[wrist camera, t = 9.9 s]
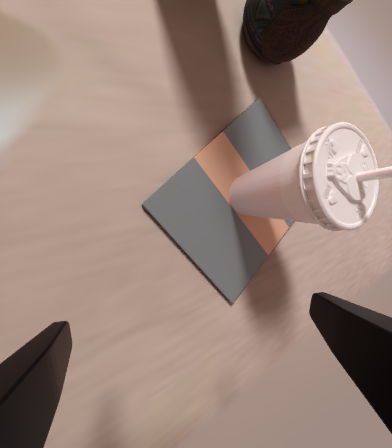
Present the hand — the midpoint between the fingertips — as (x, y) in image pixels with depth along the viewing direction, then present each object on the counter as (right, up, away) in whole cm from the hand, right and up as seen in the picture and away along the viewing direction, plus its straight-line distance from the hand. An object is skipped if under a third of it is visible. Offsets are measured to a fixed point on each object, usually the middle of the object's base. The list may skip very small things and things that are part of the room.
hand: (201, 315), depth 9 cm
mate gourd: (+7, +22, +16) cm, 28 cm away
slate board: (+4, +6, +14) cm, 16 cm away
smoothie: (+4, +6, +14) cm, 16 cm away
